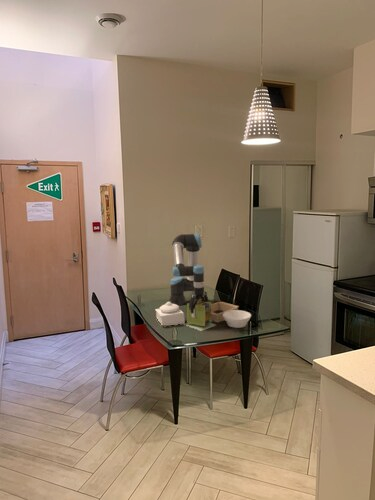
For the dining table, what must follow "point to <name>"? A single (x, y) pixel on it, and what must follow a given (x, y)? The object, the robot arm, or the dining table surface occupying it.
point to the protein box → (200, 313)
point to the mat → (200, 326)
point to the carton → (222, 307)
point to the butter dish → (170, 314)
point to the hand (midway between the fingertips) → (199, 315)
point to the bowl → (236, 318)
